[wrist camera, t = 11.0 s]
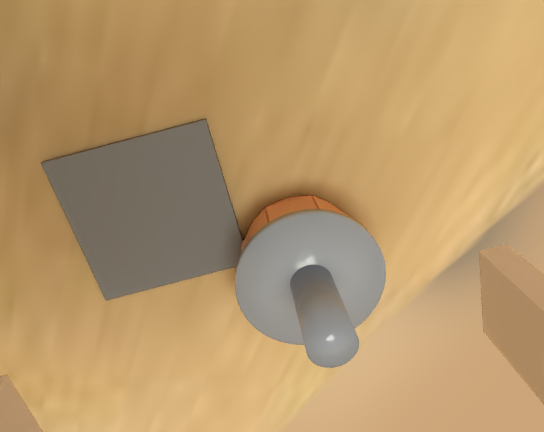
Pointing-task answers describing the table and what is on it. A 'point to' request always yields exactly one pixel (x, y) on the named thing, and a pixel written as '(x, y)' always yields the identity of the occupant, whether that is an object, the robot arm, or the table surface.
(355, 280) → the lid
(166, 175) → the mat
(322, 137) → the table surface
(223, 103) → the table surface
